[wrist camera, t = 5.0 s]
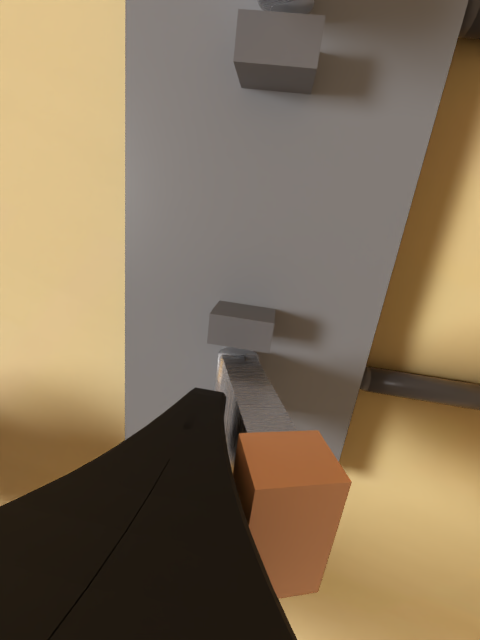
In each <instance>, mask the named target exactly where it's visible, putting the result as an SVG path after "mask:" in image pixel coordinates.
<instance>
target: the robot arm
mask: <svg viewBox="0 0 480 640" xmlns="http://www.w3.org/2000/svg"><path fill="white" fill-rule="evenodd" d="M226 397H227V396H226V395H225V394H224V393H223V392H219V391H213V390H207V389H202V388H196V387H195V388H194V389H192V390H191V391H189V392H188V393H187V394H186V395H185V396H183V397H182V398H181V399H180V400H179V401H177V402H176V403H175V404H174V405H172V406H171V407H170V408H169V409H167V410H166V411H165V412H164V413H162V414H161V415H160V416H158V417H157V418H156V419H154V420H153V421H152V422H150V423H149V424H148V425H146V426H145V427H144V428H142V429H141V430H139V431H138V432H136V433H135V434H133V435H132V436H130V437H129V438H128V439H126V440H125V441H123V442H122V443H120V444H119V445H117V446H116V447H114V448H113V449H111V450H109V451H108V452H106V453H105V454H103V455H101V456H100V457H98V458H96V459H94V460H93V461H91V462H89V463H87V464H86V465H84V466H82V467H80V468H78V469H77V470H75V471H73V472H71V473H69V474H67V475H65V476H63V477H61V478H59V479H57V480H55V481H53V482H51V483H49V484H47V485H45V486H43V487H41V488H39V489H36V490H34V491H32V492H30V493H28V494H26V495H24V496H22V497H20V498H18V499H16V500H14V501H11V502H9V503H7V504H5V505H2V506H0V640H297V638H296V636H295V634H294V632H293V630H292V628H291V626H290V624H289V621H288V619H287V617H286V615H285V613H284V610H283V608H282V606H281V604H280V602H279V599H278V597H277V595H276V593H275V591H274V589H273V586H272V584H271V581H270V579H269V576H268V574H267V571H266V569H265V567H264V564H263V562H262V559H261V557H260V554H259V552H258V549H257V547H256V544H255V542H254V539H253V537H252V534H251V531H250V529H249V526H248V523H247V520H246V517H245V514H244V511H243V508H242V505H241V501H240V498H239V495H238V492H237V488H236V484H235V481H234V477H233V473H232V468H231V464H230V459H229V454H228V449H227V442H226V435H225V427H224V414H225V405H226Z"/></svg>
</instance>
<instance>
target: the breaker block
mask: <svg viewBox="0 0 480 640" xmlns="http://www.w3.org/2000/svg"><path fill="white" fill-rule="evenodd" d="M458 37H460V38H471V39H480V0H315V1H314V6H313V8H312V10H311V11H310V12H309V13H308V14H301V13H287V12H274V11H263V10H262V9H261V7H260V6H259V4H258V1H257V0H126V21H125V440H126V439H128V438H129V437H130V436H132V435H133V434H135V433H136V432H138V431H139V430H141V429H142V428H144V427H145V426H146V425H148V424H149V423H150V422H152V421H153V420H154V419H156V418H157V417H158V416H160V415H161V414H162V413H164V412H165V411H166V410H167V409H169V408H170V407H171V406H172V405H174V404H175V403H176V402H177V401H179V400H180V399H181V398H182V397H183V396H185V395H186V394H187V393H188V392H189V391H191V390H192V389H194V388H195V387H196V388H202V389H207V390H213V391H215V383H216V374H217V364H218V355H219V351H220V350H221V349H223V348H226V347H232V348H238V349H245V350H251V351H254V352H256V353H257V354H258V356H259V362H260V364H261V366H262V368H263V370H264V372H265V373H266V375H267V377H268V379H269V381H270V383H271V384H272V386H273V388H274V390H275V392H276V393H277V395H278V397H279V399H280V401H281V403H282V404H283V406H284V408H285V410H286V412H287V413H288V415H289V417H290V419H291V421H292V423H293V424H294V426H295V428H296V430H297V431H309V430H318V431H319V432H320V434H321V435H322V437H323V438H324V440H325V442H326V443H327V445H328V446H329V448H330V449H331V451H332V452H333V454H334V456H335V457H336V459H337V460H338V462H339V460H340V456H341V453H342V449H343V445H344V442H345V438H346V435H347V431H348V428H349V424H350V420H351V417H352V413H353V410H354V406H355V403H356V399H357V396H358V392H359V389H361V390H364V391H369V392H375V393H381V394H387V395H393V396H399V397H405V398H411V399H416V400H422V401H428V402H434V403H440V404H446V405H452V406H458V407H464V408H470V409H476V410H480V385H478V384H472V383H466V382H460V381H453V380H447V379H441V378H435V377H429V376H423V375H416V374H410V373H404V372H398V371H392V370H386V369H379V368H373V367H366V363H367V360H368V356H369V353H370V349H371V346H372V342H373V339H374V335H375V331H376V328H377V324H378V321H379V317H380V314H381V310H382V307H383V303H384V299H385V296H386V292H387V289H388V285H389V282H390V278H391V274H392V271H393V267H394V264H395V260H396V257H397V253H398V250H399V246H400V242H401V239H402V235H403V232H404V228H405V225H406V221H407V218H408V214H409V210H410V207H411V203H412V200H413V196H414V193H415V189H416V185H417V182H418V178H419V175H420V171H421V168H422V164H423V161H424V157H425V153H426V150H427V146H428V143H429V139H430V136H431V132H432V128H433V125H434V121H435V118H436V114H437V111H438V107H439V104H440V100H441V96H442V93H443V89H444V86H445V82H446V79H447V75H448V72H449V68H450V64H451V61H452V57H453V54H454V50H455V47H456V43H457V39H458Z"/></svg>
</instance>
